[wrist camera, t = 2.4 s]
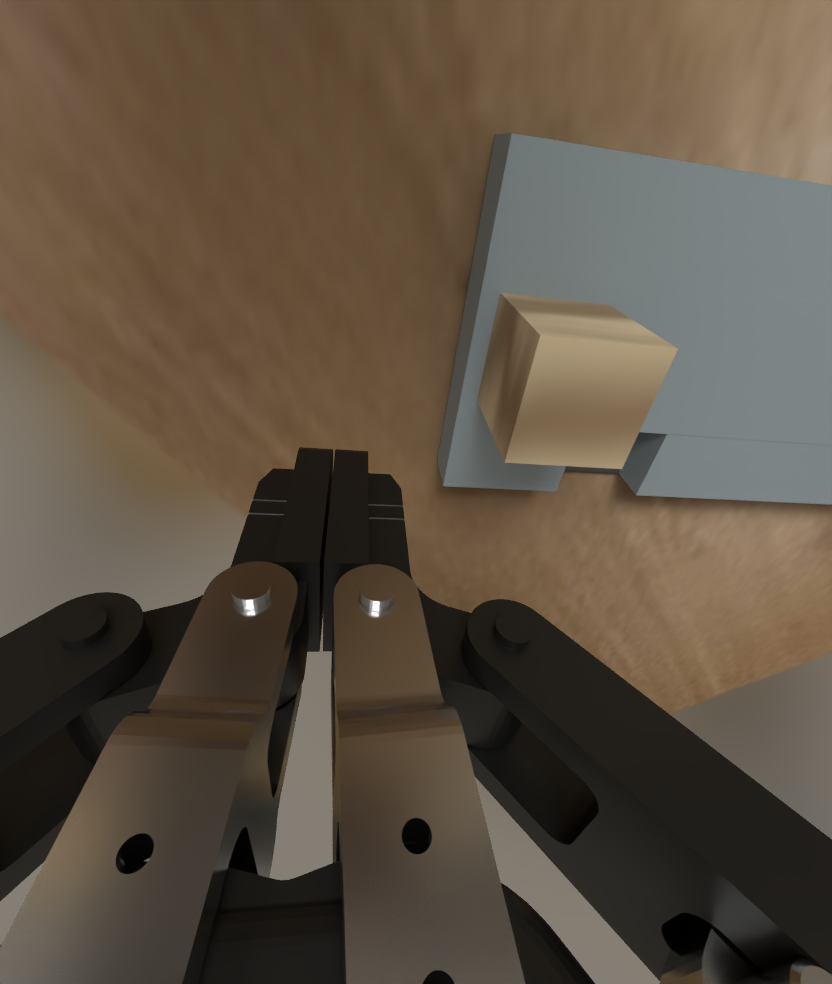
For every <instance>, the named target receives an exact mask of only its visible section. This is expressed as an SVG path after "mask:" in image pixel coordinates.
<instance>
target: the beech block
mask: <svg viewBox="0 0 832 984" xmlns="http://www.w3.org/2000/svg"><path fill="white" fill-rule="evenodd" d="M677 350H678V348H676V347H674V346H673V345H671V344H670V343H668V342H667V341H665V340H664V339H662V338H660V337H659V336H657V335H656V334H654V333H653V332H651V331H649V330H648V329H646V328H645V327H643V326H642V325H640V324H639V323H637V322H635V321H634V320H632V319H631V318H629V317H628V316H626V315H624V314H623V313H621V312H620V311H618V310H617V309H615V308H614V307H612V306H610V305H606V304H598V303H589V302H580V301H571V300H562V299H553V298H544V297H535V296H526V295H517V294H508V293H500V297H499V301H498V306H497V310H496V315H495V319H494V324H493V329H492V333H491V338H490V342H489V347H488V352H487V356H486V361H485V365H484V370H483V374H482V379H481V384H480V388H479V393H478V397H477V402H478V404H479V407H480V409H481V411H482V413H483V415H484V418H485V420H486V422H487V424H488V427H489V429H490V431H491V433H492V436H493V438H494V440H495V442H496V445H497V447H498V449H499V451H500V454H501V456H502V458H503V460H504V463H520V464H538V465H556V466H574V467H592V468H610V469H622V468H623V466H624V464H625V462H626V459H627V457H628V455H629V453H630V451H631V449H632V447H633V444H634V442H635V440H636V438H637V436H638V434H639V432H640V429H641V427H642V425H643V423H644V421H645V419H646V417H647V414H648V412H649V410H650V408H651V406H652V404H653V402H654V399H655V397H656V395H657V393H658V391H659V389H660V387H661V385H662V382H663V380H664V378H665V376H666V374H667V372H668V370H669V367H670V365H671V363H672V361H673V359H674V357H675V355H676V352H677Z"/></svg>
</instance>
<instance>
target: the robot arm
mask: <svg viewBox="0 0 832 984" xmlns="http://www.w3.org/2000/svg"><path fill="white" fill-rule="evenodd" d="M322 619H323V651H332V668H331V669H332V670H331V735H332V788H333V789H332V790H333V792H332V794H333V863H332V864H330V865H327V866H325V867H322V868H319V869H317V870H314V871H312V872H309V873H307V874H304V875H302V876H299V877H296V878H293V879H290V880H282V881H281V880H275V879H271V878H269V876H270V870H271V865H272V859H273V853H274V846H275V838H276V827H277V815H278V808H279V802H280V796H281V791H282V786H283V781H284V776H285V771H286V766H287V761H288V756H289V751H290V746H291V741H292V736H293V731H294V726H295V721H296V716H297V711H298V706H299V701H300V697H301V688H302V682H303V679H304V674H305V666H306V657H307V652H308V651H310V652H315V651H316V652H318V651H319V650H320V640H321V629H322ZM475 777H476V778H477V779H478V780H479V781H480V782H481V783H482V785H483V786H484V787H485V788H486V789H487V790H488V791H489V792H490V794H491V795H492V796H493V797H494V798H495V799H496V800H497V801H498V802H499V804H500V805H501V806H502V807H503V808H504V809H505V810H506V811H507V812H508V813H509V815H510V816H511V817H512V818H513V819H514V820H515V821H516V822H517V823H518V824H519V826H520V827H521V828H522V829H523V830H524V831H525V832H526V833H527V834H528V835H529V837H530V838H531V839H532V840H533V841H534V842H535V843H536V844H537V846H538V847H539V848H540V849H541V850H542V851H543V852H544V853H545V854H546V856H547V857H548V858H549V859H550V860H551V861H552V862H553V863H554V864H555V865H556V867H557V868H558V869H559V870H560V871H561V872H562V873H563V874H564V875H565V877H566V878H567V879H568V880H569V881H570V882H571V883H572V884H573V885H574V886H575V888H576V889H577V890H578V891H579V892H580V893H581V894H582V895H583V897H584V898H585V899H586V900H587V901H588V902H589V903H590V904H591V905H592V906H593V908H594V909H595V910H596V911H597V912H598V913H599V914H600V915H601V916H602V918H603V919H604V920H605V921H606V922H607V923H608V924H609V925H610V926H611V928H612V929H613V930H614V931H615V932H616V933H617V934H618V935H619V936H620V937H621V939H622V940H623V941H624V942H625V943H626V944H627V945H628V946H629V947H630V949H631V950H632V951H633V952H634V953H635V954H636V955H637V956H638V957H639V958H640V960H641V961H642V962H643V963H644V964H645V965H646V966H647V967H648V969H649V970H650V971H651V972H652V973H653V974H654V975H655V976H656V977H657V978H658V980H659V981H660V984H832V840H831V839H830V838H829V837H827V836H826V835H825V834H824V833H822V832H821V831H820V830H819V829H817V828H816V827H814V826H813V825H812V824H811V823H809V822H808V821H807V820H806V819H804V818H803V817H802V816H800V815H799V814H798V813H796V812H795V811H794V810H792V809H791V808H790V807H789V806H787V805H786V804H785V803H784V802H782V801H781V800H779V799H778V798H777V797H776V796H774V795H773V794H772V793H771V792H769V791H768V790H767V789H765V788H764V787H763V786H761V785H760V784H759V783H758V782H756V781H755V780H754V779H752V778H751V777H750V776H748V775H747V774H746V773H744V772H743V771H742V770H741V769H739V768H738V767H737V766H736V765H734V764H733V763H732V762H730V761H729V760H728V759H726V758H725V757H724V756H723V755H721V754H720V753H719V752H717V751H716V750H715V749H713V748H712V747H711V746H709V745H708V744H707V743H706V742H704V741H703V740H702V739H700V738H699V737H698V736H697V735H695V734H694V733H693V732H691V731H690V730H689V729H688V728H686V727H685V726H684V725H682V724H681V723H680V722H678V721H677V720H676V719H675V718H673V717H672V716H671V715H669V714H668V713H667V712H666V711H664V710H663V709H662V708H660V707H659V706H658V705H656V704H655V703H654V702H653V701H651V700H650V699H649V698H647V697H646V696H645V695H643V694H642V693H641V692H640V691H638V690H637V689H636V688H634V687H633V686H632V685H630V684H629V683H628V682H627V681H625V680H624V679H623V678H621V677H620V676H619V675H618V674H616V673H615V672H614V671H612V670H611V669H610V668H608V667H607V666H606V665H605V664H603V663H602V662H601V661H599V660H598V659H597V658H595V657H594V656H593V655H592V654H590V653H589V652H588V651H586V650H585V649H584V648H583V647H581V646H580V645H579V644H577V643H576V642H575V641H573V640H572V639H571V638H570V637H568V636H567V635H566V634H564V633H563V632H562V631H560V630H559V629H558V628H557V627H555V626H554V625H553V624H551V623H550V622H549V621H548V620H546V619H545V618H544V617H542V616H541V615H540V614H538V613H537V612H536V611H534V610H533V609H531V608H530V607H528V606H526V605H524V604H521V603H518V602H515V601H511V600H504V599H497V600H490V601H487V602H484V603H482V604H480V605H479V606H477V607H476V608H475V609H474V610H473V612H472V613H469V612H465V611H462V610H458V609H455V608H451V607H448V606H445V605H442V604H440V603H438V602H435V601H433V600H432V599H430V598H429V597H427V596H426V595H425V594H424V593H422V592H421V591H420V590H419V588H418V587H417V586H416V584H415V583H414V581H413V579H412V577H411V573H410V566H409V557H408V548H407V539H406V530H405V521H404V511H403V502H402V493H401V488H400V487H399V485H398V484H397V483H396V481H395V480H394V479H393V477H392V476H391V475H389V474H370V473H368V451H353V450H335V459H334V468H333V449H318V448H301V447H300V448H299V450H298V454H297V459H296V463H295V467H294V470H292V469H272V470H271V471H270V472H269V473H268V474H267V475H266V476H265V477H264V478H262V479H261V480H260V481H259V483H258V486H257V489H256V492H255V495H254V500H253V501H252V504H251V507H250V510H249V515H248V516H247V519H246V522H245V525H244V529H243V532H242V534H241V538H240V541H239V544H238V547H237V550H236V553H235V556H234V559H233V562H232V565H231V567H230V568H229V569H227V570H225V571H223V572H221V573H220V574H219V575H217V576H216V577H215V578H214V579H213V580H212V581H211V583H210V584H209V585H208V587H207V589H206V590H205V592H204V595H202V596H200V597H198V598H195V599H193V600H190V601H188V602H184V603H180V604H176V605H172V606H168V607H163V608H159V609H155V610H150V611H147V612H142V609H141V607H140V605H139V604H138V603H137V602H136V601H135V600H134V599H132V598H130V597H128V596H126V595H123V594H119V593H109V592H105V593H94V594H89V595H85V596H81V597H77V598H75V599H72V600H70V601H67V602H65V603H63V604H61V605H59V606H57V607H55V608H54V609H52V610H50V611H48V612H46V613H45V614H43V615H41V616H39V617H38V618H36V619H34V620H32V621H30V622H28V623H27V624H25V625H23V626H21V627H19V628H18V629H16V630H14V631H12V632H11V633H9V634H7V635H5V636H3V637H1V638H0V901H1V900H2V899H3V898H4V897H5V896H6V895H8V894H9V893H10V892H11V891H12V890H13V889H14V888H15V887H17V886H18V885H19V884H20V883H21V882H22V881H23V880H24V879H25V878H26V877H27V876H29V875H30V874H31V873H32V872H33V871H34V870H35V869H36V868H37V867H39V866H40V865H41V864H42V863H43V862H44V861H45V862H44V864H43V866H42V868H41V870H40V871H39V873H38V875H37V877H36V879H35V881H34V883H33V885H32V887H31V889H30V891H29V893H28V895H27V897H26V899H25V901H24V902H23V904H22V906H21V908H20V910H19V912H18V914H17V916H16V918H15V919H14V921H13V923H12V925H11V927H10V929H9V931H8V933H7V935H6V937H5V939H4V941H3V942H2V944H1V945H0V984H595V983H594V982H593V980H592V979H591V978H590V977H589V975H588V974H587V973H586V971H585V970H584V969H583V968H582V966H581V965H580V964H579V962H578V961H577V960H576V959H575V957H574V956H573V955H572V954H571V952H570V951H569V950H568V948H567V947H566V946H565V945H564V943H563V942H562V941H561V939H560V938H559V937H558V936H557V934H555V932H554V931H553V930H552V928H551V927H550V926H549V925H548V924H547V923H546V921H545V920H544V919H543V918H542V917H541V916H540V915H539V914H538V913H537V912H536V911H535V910H534V909H533V908H532V907H531V906H530V905H529V904H528V903H527V902H526V901H524V900H523V899H522V898H521V897H519V896H518V895H517V894H516V893H514V892H513V891H512V890H511V889H509V888H508V887H507V886H505V885H504V884H502V883H501V882H500V878H499V874H498V870H497V866H496V862H495V858H494V853H493V849H492V845H491V841H490V837H489V833H488V829H487V825H486V821H485V817H484V812H483V808H482V804H481V800H480V796H479V792H478V788H477V784H476V780H475Z"/></svg>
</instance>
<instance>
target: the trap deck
mask: <svg viewBox="0 0 832 984" xmlns="http://www.w3.org/2000/svg"><path fill="white" fill-rule="evenodd" d="M500 293H508V294H517V295H526V296H535V297H544V298H553V299H562V300H571V301H580V302H589V303H598V304H606V305H610V306H612V307H614V308H615V309H617V310H618V311H620V312H621V313H623V314H624V315H626V316H628V317H629V318H631V319H632V320H634V321H635V322H637V323H639V324H640V325H642V326H643V327H645V328H646V329H648V330H649V331H651V332H653V333H654V334H656V335H657V336H659V337H660V338H662V339H664V340H665V341H667V342H668V343H670V344H671V345H673V346H674V347H676V348H678V350H677V352H676V355H675V357H674V359H673V361H672V363H671V365H670V367H669V370H668V372H667V374H666V376H665V378H664V380H663V382H662V385H661V387H660V389H659V391H658V393H657V395H656V397H655V399H654V402H653V404H652V406H651V408H650V410H649V412H648V414H647V417H646V419H645V421H644V423H643V425H642V427H641V429H640V432H639V434H638V436H637V438H636V440H635V442H634V444H633V447H632V449H631V451H630V453H629V455H628V457H627V459H626V462H625V464H624V466H623V468H622V469H610V468H592V467H574V466H556V465H538V464H520V463H504V460H503V458H502V456H501V454H500V451H499V449H498V447H497V445H496V442H495V440H494V438H493V436H492V433H491V431H490V429H489V427H488V424H487V422H486V420H485V418H484V415H483V413H482V411H481V409H480V407H479V404H478V402H477V397H478V393H479V388H480V384H481V379H482V374H483V370H484V365H485V361H486V356H487V352H488V347H489V342H490V338H491V333H492V329H493V324H494V319H495V315H496V310H497V306H498V301H499V297H500ZM437 462H438V466H439V471H440V475H441V479H442V484H443V486H449V487H470V488H491V489H512V490H533V491H555V492H556V491H557V489H558V486H559V483H560V481H561V478H562V475H563V473H564V470H567V471H585V472H603V473H619V474H620V475H621V477H622V478H623V479H624V481H625V482H626V483H627V484H628V486H629V487H630V488H631V490H632V491H633V492H634V493H635V495H640V496H661V497H682V498H703V499H725V500H746V501H767V502H788V503H809V504H831V505H832V186H830V185H824V184H818V183H812V182H806V181H800V180H793V179H787V178H781V177H775V176H769V175H763V174H757V173H751V172H745V171H739V170H733V169H727V168H721V167H715V166H709V165H703V164H697V163H691V162H684V161H678V160H672V159H666V158H660V157H654V156H648V155H642V154H636V153H630V152H624V151H618V150H612V149H606V148H600V147H594V146H588V145H582V144H576V143H569V142H563V141H557V140H551V139H545V138H539V137H533V136H527V135H521V134H515V133H507V134H497V135H495V138H494V143H493V149H492V154H491V160H490V166H489V171H488V177H487V183H486V188H485V194H484V199H483V205H482V211H481V216H480V222H479V228H478V233H477V239H476V244H475V250H474V256H473V261H472V267H471V273H470V278H469V284H468V290H467V295H466V301H465V306H464V312H463V318H462V323H461V329H460V335H459V340H458V346H457V351H456V357H455V363H454V368H453V374H452V380H451V385H450V391H449V396H448V402H447V408H446V413H445V419H444V425H443V430H442V436H441V441H440V447H439V453H438V458H437Z"/></svg>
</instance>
